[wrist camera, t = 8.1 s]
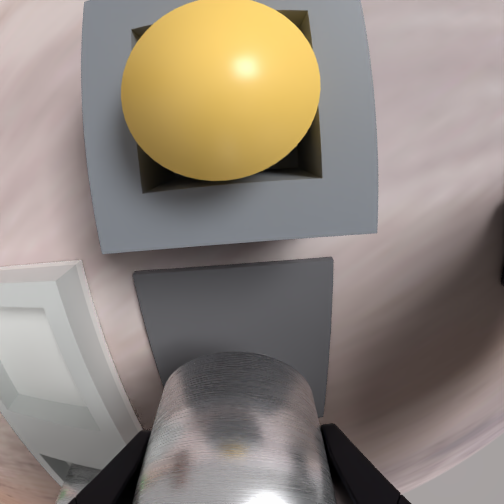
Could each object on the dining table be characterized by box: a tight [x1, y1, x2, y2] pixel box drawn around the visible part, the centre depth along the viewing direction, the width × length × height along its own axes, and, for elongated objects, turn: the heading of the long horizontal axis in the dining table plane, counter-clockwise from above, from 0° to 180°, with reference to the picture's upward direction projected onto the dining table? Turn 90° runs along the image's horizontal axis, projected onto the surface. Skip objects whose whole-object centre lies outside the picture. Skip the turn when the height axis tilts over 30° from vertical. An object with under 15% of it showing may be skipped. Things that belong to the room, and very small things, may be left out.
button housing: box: [81, 0, 378, 254], centre depth 7 cm, size 6×6×4 cm
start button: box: [121, 0, 321, 181], centre depth 6 cm, size 3×3×4 cm
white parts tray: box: [0, 260, 143, 487], centre depth 13 cm, size 9×19×2 cm, turn 4°
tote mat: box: [133, 257, 333, 418], centre depth 12 cm, size 7×8×1 cm
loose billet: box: [132, 352, 337, 504], centre depth 7 cm, size 5×5×6 cm
